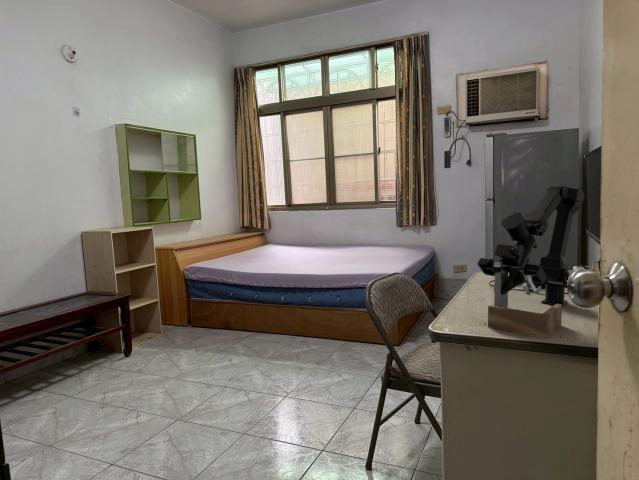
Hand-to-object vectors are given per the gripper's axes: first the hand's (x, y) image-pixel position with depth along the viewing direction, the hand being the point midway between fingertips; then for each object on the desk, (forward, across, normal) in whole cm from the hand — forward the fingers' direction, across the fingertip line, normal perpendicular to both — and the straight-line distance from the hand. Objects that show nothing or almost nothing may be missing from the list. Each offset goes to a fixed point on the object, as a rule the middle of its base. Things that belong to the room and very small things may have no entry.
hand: (498, 293), depth 125 cm
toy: (-31, -20, +45) cm, 58 cm away
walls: (+4, +6, +9) cm, 11 cm away
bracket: (+4, +3, +6) cm, 7 cm away
